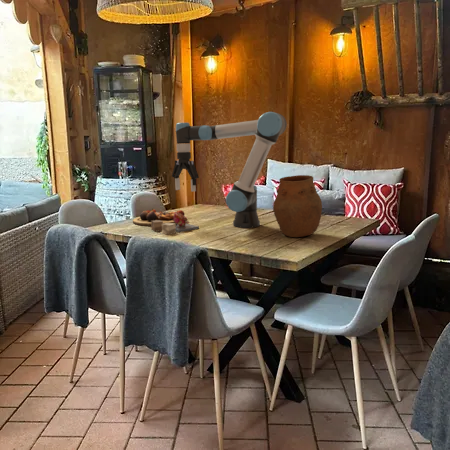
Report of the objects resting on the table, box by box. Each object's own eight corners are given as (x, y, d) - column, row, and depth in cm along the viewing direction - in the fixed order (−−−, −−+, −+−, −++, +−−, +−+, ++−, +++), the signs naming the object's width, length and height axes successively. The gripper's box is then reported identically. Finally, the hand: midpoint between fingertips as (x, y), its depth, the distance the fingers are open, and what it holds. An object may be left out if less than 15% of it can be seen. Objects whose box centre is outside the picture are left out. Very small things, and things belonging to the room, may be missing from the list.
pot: (262, 234, 222) (263, 176, 216) (295, 228, 236) (296, 173, 230) (297, 243, 203) (299, 179, 197) (330, 235, 217) (333, 176, 211)
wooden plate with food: (196, 219, 268) (195, 206, 267) (168, 228, 240) (167, 213, 238) (153, 216, 282) (152, 204, 280) (121, 225, 253) (121, 211, 252)
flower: (171, 225, 232) (179, 213, 231) (166, 219, 239) (174, 207, 239) (184, 233, 237) (193, 222, 236) (179, 227, 245) (187, 216, 244)
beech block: (175, 233, 228) (175, 223, 227) (169, 234, 224) (168, 225, 223) (168, 231, 231) (168, 222, 230) (162, 233, 227) (161, 224, 226)
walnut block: (163, 230, 234) (162, 221, 233) (154, 231, 232) (154, 222, 231) (160, 228, 239) (159, 220, 238) (151, 229, 237) (151, 220, 236)
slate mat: (198, 228, 238) (198, 226, 238) (178, 232, 229) (178, 230, 229) (183, 225, 248) (183, 223, 248) (163, 228, 239) (163, 226, 239)
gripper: (204, 151, 229) (205, 191, 233) (175, 151, 247) (176, 188, 251) (193, 151, 224) (195, 192, 228) (164, 152, 242) (166, 189, 246)
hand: (185, 190), depth 240 cm, fingers open, 13 cm apart
